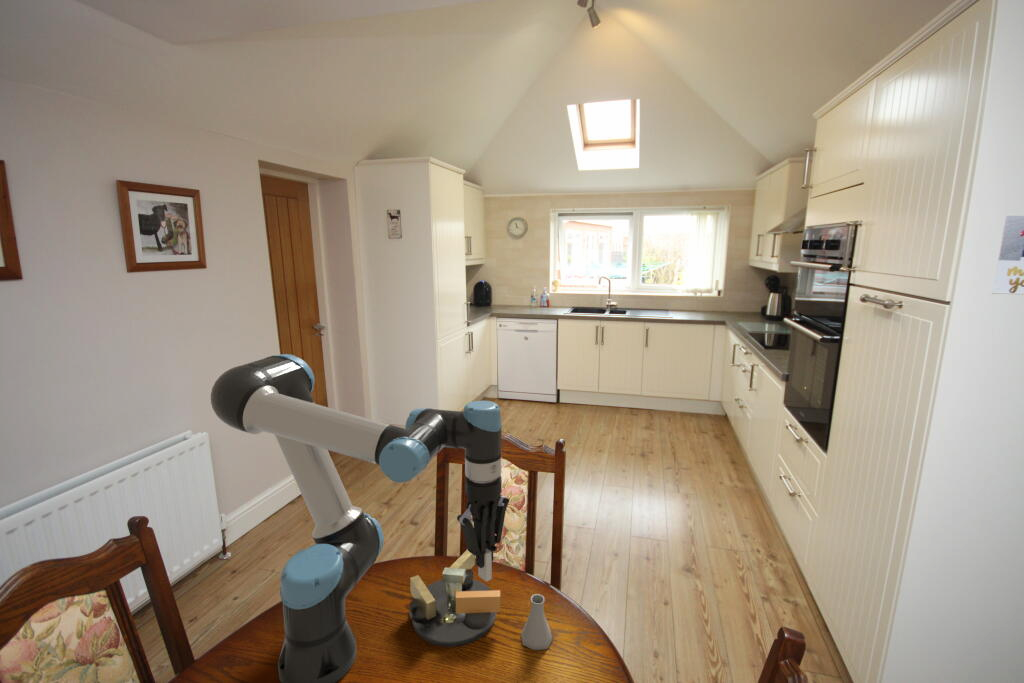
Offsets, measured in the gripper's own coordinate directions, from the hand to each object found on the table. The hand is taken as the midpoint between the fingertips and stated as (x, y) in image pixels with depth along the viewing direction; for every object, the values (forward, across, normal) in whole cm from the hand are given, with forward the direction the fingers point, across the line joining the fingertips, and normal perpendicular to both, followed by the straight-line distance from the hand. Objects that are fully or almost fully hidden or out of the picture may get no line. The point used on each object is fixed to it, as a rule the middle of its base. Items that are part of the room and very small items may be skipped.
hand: (484, 577), depth 102 cm
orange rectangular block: (+13, +1, +4) cm, 14 cm away
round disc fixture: (+16, +1, +12) cm, 20 cm away
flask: (+16, +8, -8) cm, 20 cm away
